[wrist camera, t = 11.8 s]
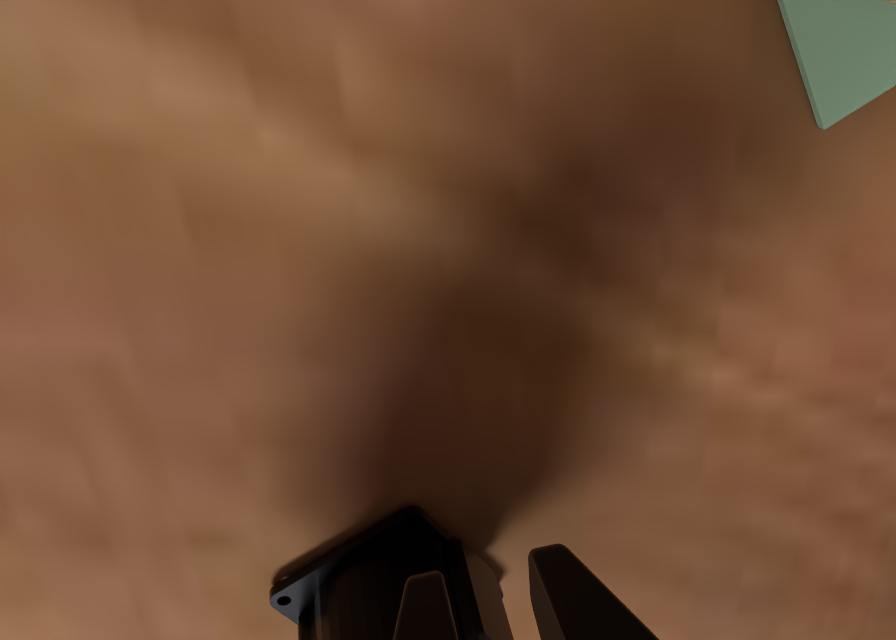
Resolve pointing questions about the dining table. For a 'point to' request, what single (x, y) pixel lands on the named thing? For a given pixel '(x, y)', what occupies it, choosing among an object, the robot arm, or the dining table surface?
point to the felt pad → (842, 52)
